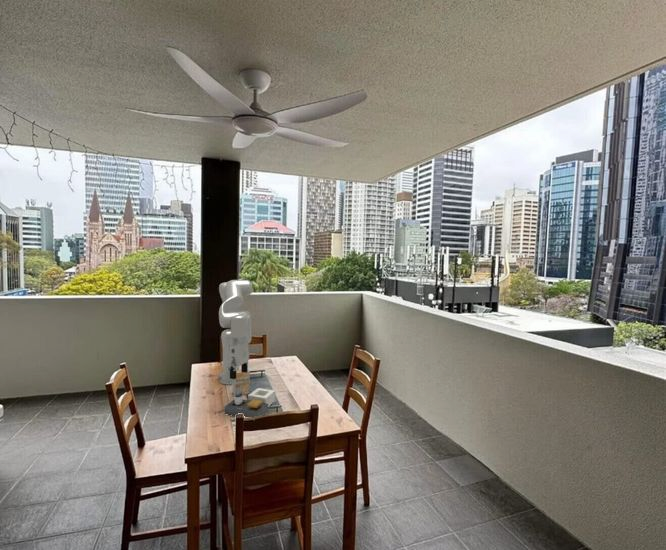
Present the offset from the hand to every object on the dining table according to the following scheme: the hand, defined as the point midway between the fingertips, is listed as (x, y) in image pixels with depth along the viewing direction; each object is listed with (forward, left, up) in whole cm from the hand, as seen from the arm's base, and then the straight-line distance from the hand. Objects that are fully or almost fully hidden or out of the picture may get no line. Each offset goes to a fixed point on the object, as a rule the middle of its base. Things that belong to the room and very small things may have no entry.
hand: (238, 375), depth 164 cm
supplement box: (-11, +19, -19) cm, 29 cm away
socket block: (+4, 0, -18) cm, 19 cm away
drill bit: (0, 0, -18) cm, 18 cm away
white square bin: (+6, +11, -18) cm, 22 cm away
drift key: (+9, 0, -17) cm, 19 cm away
